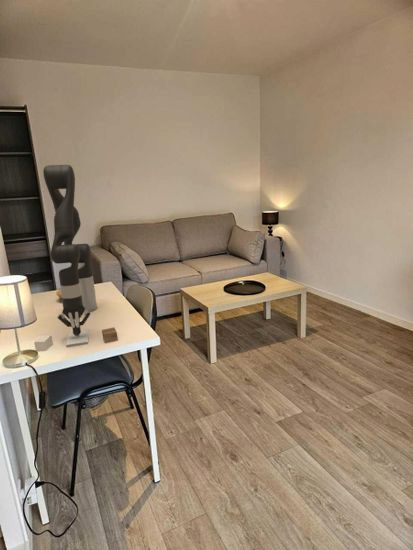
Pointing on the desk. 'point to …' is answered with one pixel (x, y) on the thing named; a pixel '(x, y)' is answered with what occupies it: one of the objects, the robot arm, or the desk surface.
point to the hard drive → (78, 339)
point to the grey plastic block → (43, 342)
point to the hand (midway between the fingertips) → (77, 335)
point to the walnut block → (109, 335)
